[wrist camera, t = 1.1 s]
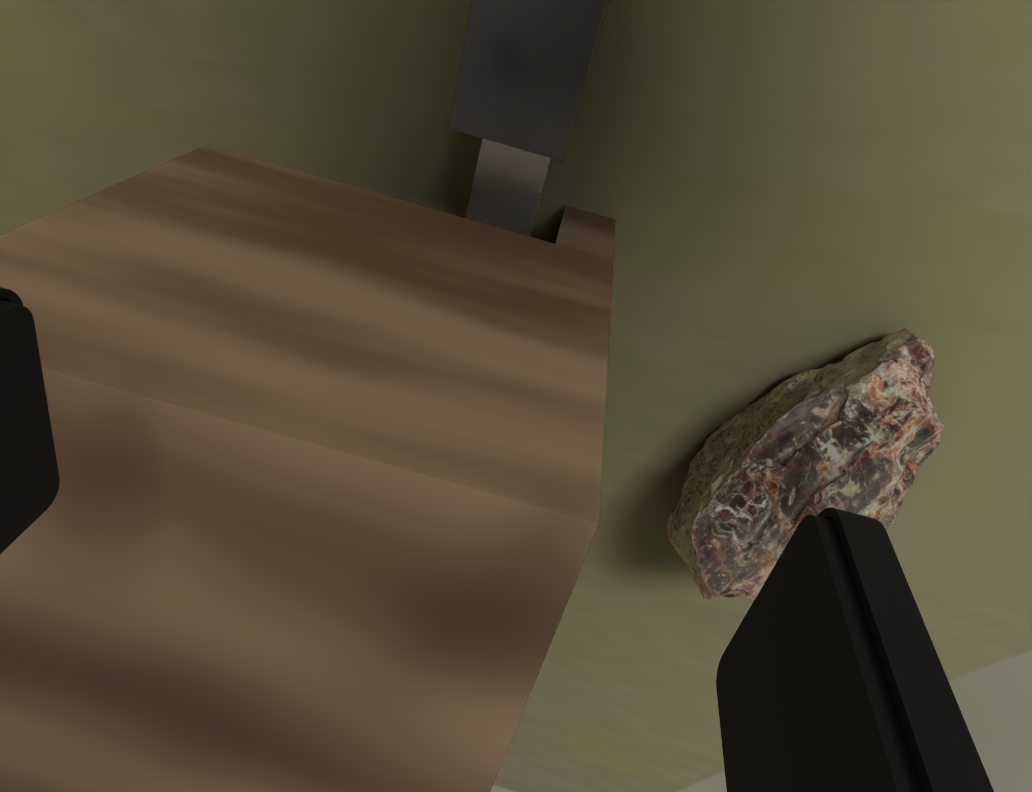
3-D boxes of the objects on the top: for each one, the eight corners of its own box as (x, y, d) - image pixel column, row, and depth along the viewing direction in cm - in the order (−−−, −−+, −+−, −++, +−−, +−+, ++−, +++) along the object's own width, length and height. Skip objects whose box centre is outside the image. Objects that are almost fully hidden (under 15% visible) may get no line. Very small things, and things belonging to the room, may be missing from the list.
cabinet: (264, 119, 28) (-169, 308, 13) (615, 220, 28) (599, 523, 13) (242, 478, 38) (-24, 834, 22) (507, 551, 38) (423, 956, 22)
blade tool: (515, -61, 24) (485, -66, 19) (617, -31, 24) (614, -29, 19) (413, 426, 35) (376, 506, 30) (485, 446, 35) (461, 530, 30)
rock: (653, 616, 31) (917, 665, 28) (671, 375, 25) (1005, 409, 22) (671, 511, 37) (892, 544, 34) (689, 297, 31) (956, 316, 28)
